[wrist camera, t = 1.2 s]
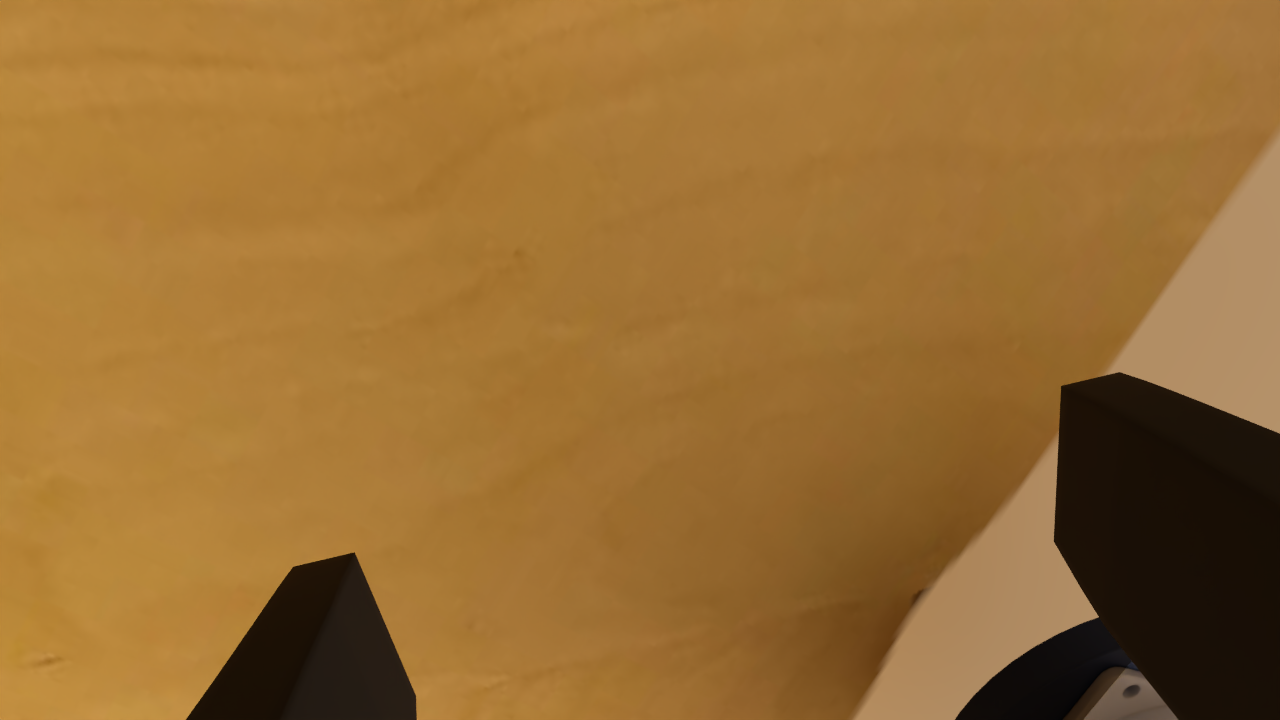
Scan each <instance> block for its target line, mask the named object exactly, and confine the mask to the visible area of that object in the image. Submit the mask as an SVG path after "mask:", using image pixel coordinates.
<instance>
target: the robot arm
mask: <svg viewBox="0 0 1280 720" xmlns="http://www.w3.org/2000/svg"><path fill="white" fill-rule="evenodd" d="M1055 509H1056V510H1055V529H1054V542H1055V544H1056V546H1057V548H1058V549H1059V551H1060V553H1061V554H1062V556H1063V558H1064V560H1065V561H1066V563H1067V565H1068V566H1069V568H1070V570H1071V571H1072V573H1073V575H1074V577H1075V579H1076V580H1077V582H1078V584H1079V585H1080V587H1081V589H1082V590H1083V592H1084V594H1085V595H1086V597H1087V598H1088V600H1089V601H1090V603H1091V605H1092V606H1093V608H1094V610H1095V611H1096V613H1097V614H1098V616H1099V618H1100V619H1101V621H1102V622H1103V624H1104V626H1105V627H1106V628H1107V630H1108V631H1109V632H1110V633H1111V635H1112V636H1113V637H1114V639H1115V640H1116V641H1117V643H1118V644H1119V645H1120V647H1121V648H1122V649H1123V650H1124V652H1125V653H1126V654H1127V655H1128V657H1129V658H1130V659H1131V661H1132V662H1133V663H1134V664H1135V666H1136V667H1137V668H1138V669H1139V671H1136V670H1132V669H1127V668H1123V667H1111V668H1108V669H1106V670H1104V671H1103V672H1102V673H1101V674H1100V675H1099V676H1098V677H1097V678H1096V679H1095V681H1094V682H1093V683H1092V684H1091V685H1090V687H1089V688H1088V689H1087V690H1086V692H1085V693H1084V694H1083V695H1082V697H1081V698H1080V699H1079V700H1078V701H1077V703H1076V704H1075V705H1074V706H1073V708H1072V709H1071V710H1070V711H1069V713H1068V714H1067V715H1066V716H1065V717H1064V719H1063V720H1280V434H1279V433H1277V432H1274V431H1272V430H1269V429H1267V428H1264V427H1262V426H1259V425H1257V424H1254V423H1252V422H1249V421H1247V420H1244V419H1242V418H1239V417H1237V416H1234V415H1232V414H1229V413H1227V412H1225V411H1222V410H1219V409H1217V408H1214V407H1212V406H1209V405H1207V404H1205V403H1202V402H1199V401H1197V400H1194V399H1192V398H1189V397H1187V396H1184V395H1182V394H1179V393H1177V392H1174V391H1171V390H1169V389H1166V388H1163V387H1161V386H1158V385H1155V384H1153V383H1150V382H1147V381H1144V380H1141V379H1138V378H1135V377H1132V376H1129V375H1126V374H1123V373H1120V372H1119V373H1115V374H1110V375H1106V376H1102V377H1097V378H1093V379H1089V380H1085V381H1080V382H1076V383H1072V384H1068V385H1063V386H1061V403H1060V424H1059V445H1058V466H1057V488H1056V508H1055ZM186 720H417V717H416V695H415V693H414V690H413V688H412V686H411V683H410V681H409V679H408V676H407V674H406V672H405V669H404V667H403V665H402V662H401V660H400V658H399V655H398V653H397V651H396V648H395V646H394V644H393V641H392V639H391V637H390V634H389V632H388V630H387V627H386V625H385V622H384V620H383V618H382V615H381V613H380V611H379V608H378V606H377V604H376V601H375V599H374V597H373V594H372V592H371V590H370V587H369V585H368V583H367V580H366V578H365V576H364V573H363V571H362V569H361V566H360V564H359V562H358V559H357V557H356V555H355V552H354V553H350V554H346V555H342V556H337V557H333V558H329V559H325V560H320V561H316V562H312V563H308V564H303V565H299V566H295V567H293V568H292V569H291V571H290V572H289V573H288V575H287V576H286V577H285V579H284V580H283V581H282V583H281V584H280V586H279V587H278V589H277V590H276V591H275V593H274V594H273V596H272V597H271V599H270V600H269V601H268V603H267V604H266V606H265V607H264V609H263V610H262V612H261V613H260V615H259V616H258V618H257V619H256V620H255V622H254V623H253V625H252V626H251V628H250V629H249V631H248V632H247V634H246V635H245V636H244V638H243V639H242V641H241V642H240V644H239V645H238V647H237V648H236V650H235V651H234V652H233V654H232V655H231V657H230V658H229V660H228V661H227V663H226V664H225V665H224V667H223V668H222V670H221V671H220V673H219V674H218V676H217V677H216V678H215V680H214V681H213V683H212V684H211V685H210V687H209V688H208V690H207V691H206V692H205V694H204V695H203V697H202V698H201V699H200V701H199V702H198V704H197V705H196V706H195V708H194V709H193V711H192V712H191V713H190V715H189V716H188V718H187V719H186Z"/></svg>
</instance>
